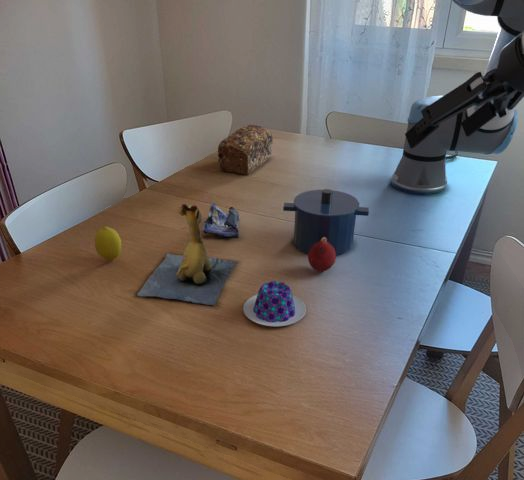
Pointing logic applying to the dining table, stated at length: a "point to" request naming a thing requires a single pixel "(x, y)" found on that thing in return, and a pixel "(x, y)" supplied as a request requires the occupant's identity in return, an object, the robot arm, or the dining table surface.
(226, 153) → the bread
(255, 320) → the pudding
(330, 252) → the onion
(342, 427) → the dining table surface
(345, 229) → the pot
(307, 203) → the pot lid
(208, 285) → the stuffed giraffe
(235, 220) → the snack package
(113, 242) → the lemon
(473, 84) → the robot arm
